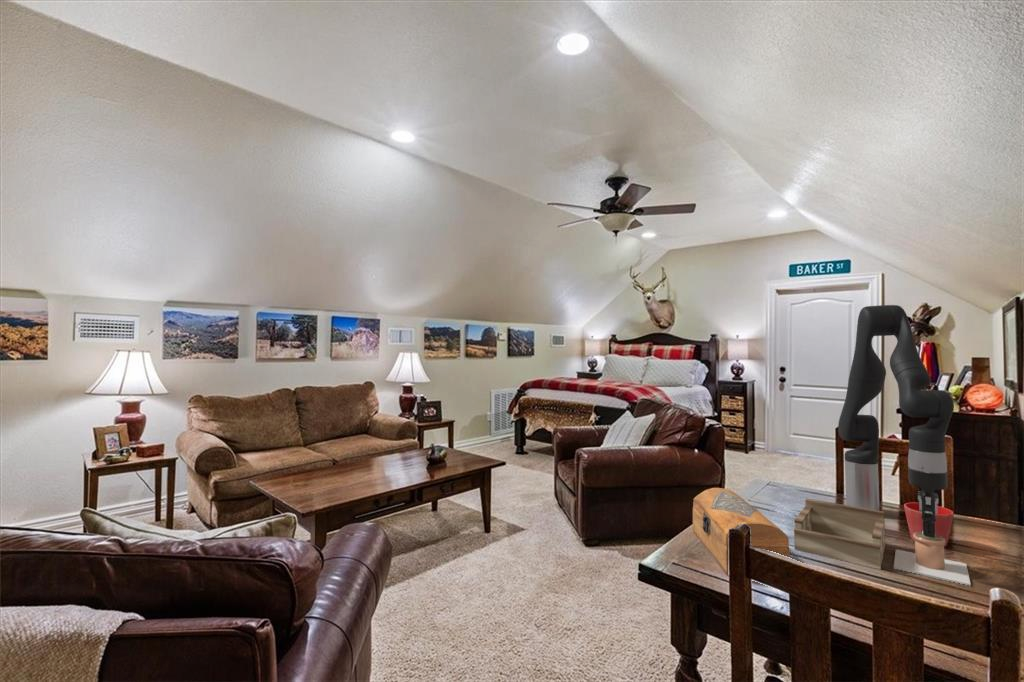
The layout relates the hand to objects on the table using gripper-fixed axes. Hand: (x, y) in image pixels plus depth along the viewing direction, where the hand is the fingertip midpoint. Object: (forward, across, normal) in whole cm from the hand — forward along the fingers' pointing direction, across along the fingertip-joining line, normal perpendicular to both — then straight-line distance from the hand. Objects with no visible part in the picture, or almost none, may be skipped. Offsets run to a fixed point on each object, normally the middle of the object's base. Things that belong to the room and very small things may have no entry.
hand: (928, 531), depth 121 cm
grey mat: (+9, 0, 0) cm, 9 cm away
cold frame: (+9, 0, -19) cm, 21 cm away
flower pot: (+10, -21, 0) cm, 23 cm away
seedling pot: (+8, 0, 0) cm, 9 cm away
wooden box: (+9, +23, -41) cm, 47 cm away
